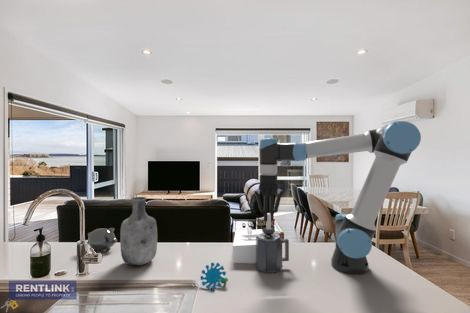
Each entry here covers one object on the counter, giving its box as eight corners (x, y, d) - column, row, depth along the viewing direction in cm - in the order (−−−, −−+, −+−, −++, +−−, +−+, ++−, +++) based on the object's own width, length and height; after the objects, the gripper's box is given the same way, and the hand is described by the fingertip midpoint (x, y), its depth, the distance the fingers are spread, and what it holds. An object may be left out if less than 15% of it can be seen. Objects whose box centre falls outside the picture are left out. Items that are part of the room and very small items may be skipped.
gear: (195, 282, 101) (207, 258, 106) (200, 288, 105) (211, 264, 110) (220, 293, 96) (231, 267, 102) (224, 299, 100) (235, 273, 106)
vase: (112, 268, 118) (111, 200, 117) (136, 254, 133) (135, 194, 133) (143, 272, 113) (142, 202, 113) (164, 258, 128) (163, 196, 128)
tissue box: (234, 264, 121) (232, 240, 121) (236, 246, 146) (235, 226, 146) (265, 263, 120) (264, 239, 120) (263, 244, 145) (261, 224, 145)
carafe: (284, 261, 122) (284, 231, 122) (291, 272, 111) (291, 239, 111) (254, 263, 121) (254, 232, 120) (258, 274, 110) (258, 240, 110)
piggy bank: (111, 255, 133) (110, 232, 132) (81, 254, 133) (81, 231, 133) (121, 247, 144) (121, 225, 144) (94, 246, 145) (94, 225, 144)
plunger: (275, 257, 120) (275, 226, 120) (279, 264, 112) (279, 231, 112) (258, 257, 119) (258, 227, 119) (261, 265, 111) (261, 232, 111)
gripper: (281, 173, 119) (281, 225, 120) (252, 173, 118) (252, 226, 119) (285, 174, 112) (285, 230, 112) (255, 175, 111) (255, 231, 111)
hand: (268, 228), depth 115 cm, fingers closed
